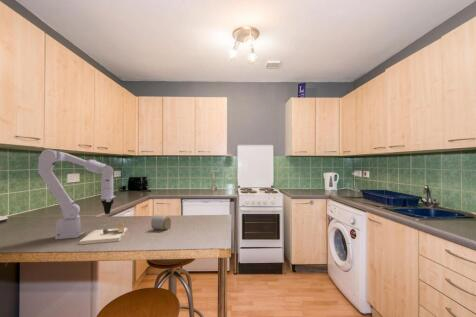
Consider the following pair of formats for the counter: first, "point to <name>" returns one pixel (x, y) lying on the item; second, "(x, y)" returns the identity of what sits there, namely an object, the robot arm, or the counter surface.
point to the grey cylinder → (160, 222)
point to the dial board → (102, 236)
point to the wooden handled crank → (120, 229)
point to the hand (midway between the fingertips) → (107, 213)
